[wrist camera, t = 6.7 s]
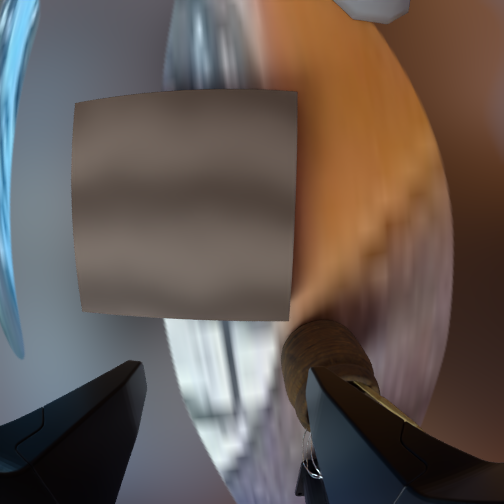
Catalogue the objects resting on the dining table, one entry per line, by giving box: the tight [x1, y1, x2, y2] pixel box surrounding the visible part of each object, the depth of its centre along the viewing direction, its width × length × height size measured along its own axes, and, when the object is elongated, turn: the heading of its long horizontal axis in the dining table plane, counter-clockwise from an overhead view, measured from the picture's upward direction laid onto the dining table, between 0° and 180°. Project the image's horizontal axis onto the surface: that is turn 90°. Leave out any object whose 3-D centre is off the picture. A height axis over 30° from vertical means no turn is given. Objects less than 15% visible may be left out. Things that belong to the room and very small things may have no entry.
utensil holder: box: [281, 320, 426, 479], centre depth 17 cm, size 6×6×12 cm
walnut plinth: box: [71, 89, 297, 321], centre depth 19 cm, size 14×14×2 cm
